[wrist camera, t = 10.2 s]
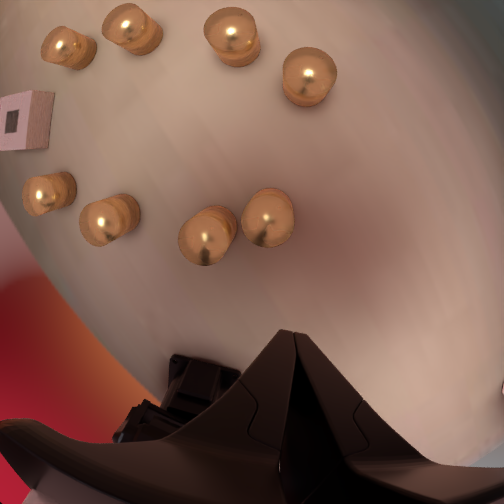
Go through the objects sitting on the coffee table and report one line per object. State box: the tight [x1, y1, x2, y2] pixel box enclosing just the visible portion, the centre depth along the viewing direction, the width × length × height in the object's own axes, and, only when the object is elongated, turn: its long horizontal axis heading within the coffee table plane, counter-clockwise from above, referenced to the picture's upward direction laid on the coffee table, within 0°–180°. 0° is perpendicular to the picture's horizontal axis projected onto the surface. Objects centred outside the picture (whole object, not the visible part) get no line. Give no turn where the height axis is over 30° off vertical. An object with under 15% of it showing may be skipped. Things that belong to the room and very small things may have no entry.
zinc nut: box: [0, 90, 55, 151], centre depth 19 cm, size 5×5×3 cm
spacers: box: [22, 3, 337, 266], centre depth 18 cm, size 17×22×4 cm
